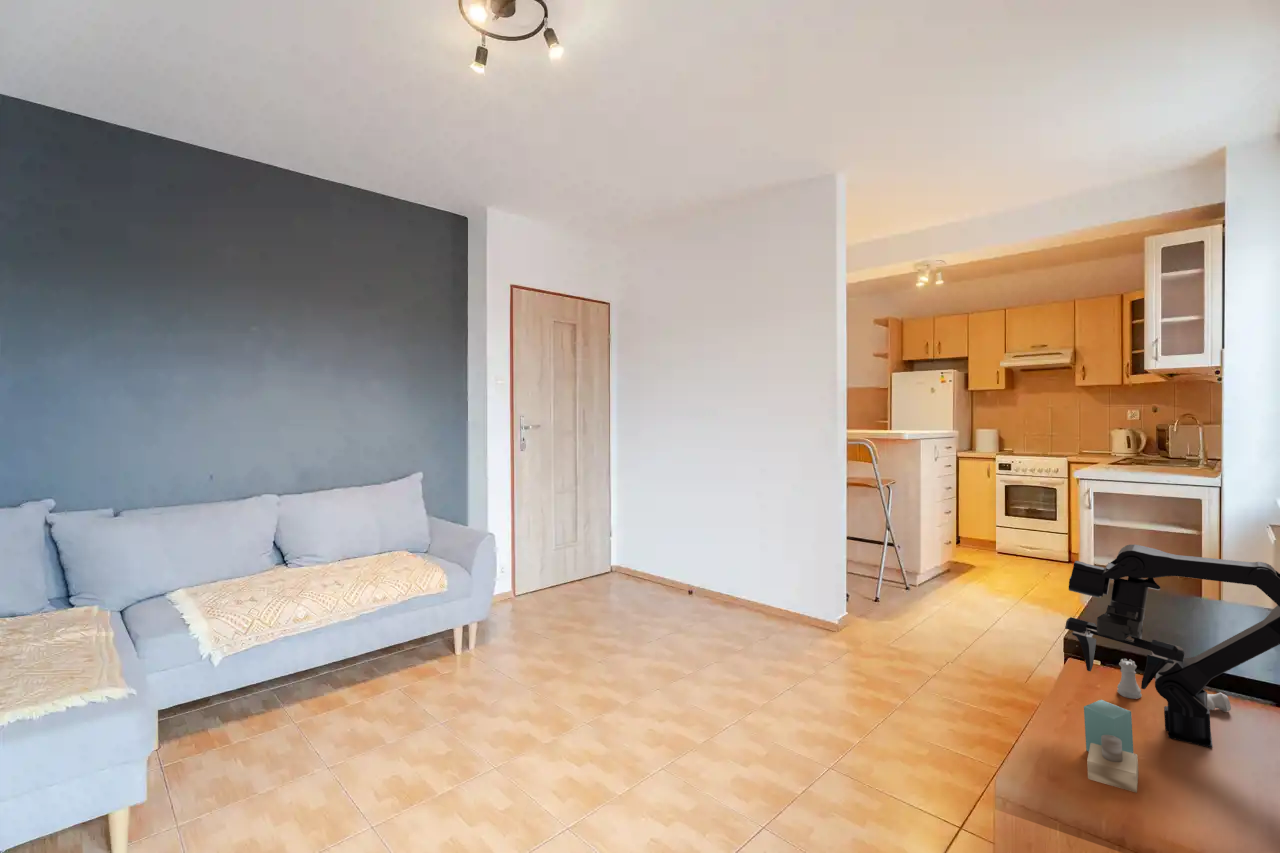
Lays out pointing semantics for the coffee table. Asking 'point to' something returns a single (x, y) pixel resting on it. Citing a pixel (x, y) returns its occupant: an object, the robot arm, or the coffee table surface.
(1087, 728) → the teal square top
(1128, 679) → the rook chess piece
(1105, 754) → the post pedestal
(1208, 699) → the smooth white sculpture
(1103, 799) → the coffee table surface
